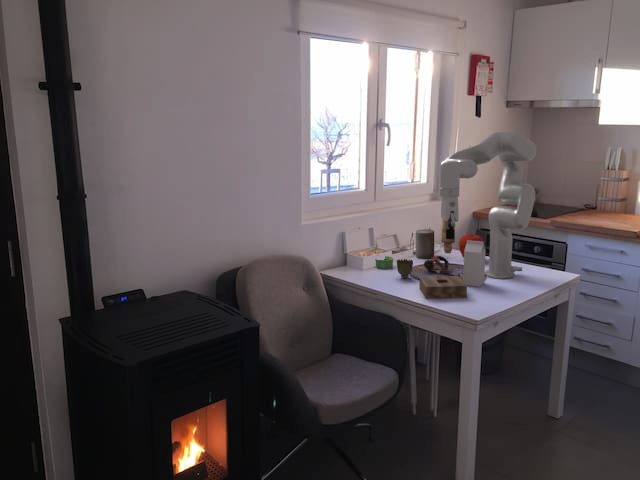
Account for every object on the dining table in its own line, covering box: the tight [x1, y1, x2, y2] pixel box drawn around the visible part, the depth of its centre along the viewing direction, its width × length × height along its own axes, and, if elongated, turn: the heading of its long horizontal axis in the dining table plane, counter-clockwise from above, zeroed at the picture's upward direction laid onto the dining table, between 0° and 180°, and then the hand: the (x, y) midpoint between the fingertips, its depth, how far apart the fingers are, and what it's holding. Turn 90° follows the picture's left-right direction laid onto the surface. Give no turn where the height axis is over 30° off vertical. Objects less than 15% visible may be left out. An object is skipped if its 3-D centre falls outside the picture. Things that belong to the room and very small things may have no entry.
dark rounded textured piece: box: [396, 258, 414, 280], centre depth 245 cm, size 8×7×8 cm
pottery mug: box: [423, 255, 450, 274], centre depth 254 cm, size 12×10×8 cm
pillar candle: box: [415, 228, 435, 260], centre depth 280 cm, size 10×10×15 cm
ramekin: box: [374, 255, 394, 270], centre depth 265 cm, size 9×9×4 cm
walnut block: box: [418, 275, 468, 300], centre depth 223 cm, size 16×14×5 cm
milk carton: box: [462, 240, 486, 288], centre depth 232 cm, size 7×7×19 cm
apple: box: [458, 234, 484, 259], centre depth 269 cm, size 12×12×14 cm
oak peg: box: [440, 218, 456, 254], centre depth 217 cm, size 5×5×14 cm
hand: (448, 237), depth 217 cm, fingers closed on oak peg, 5 cm apart
